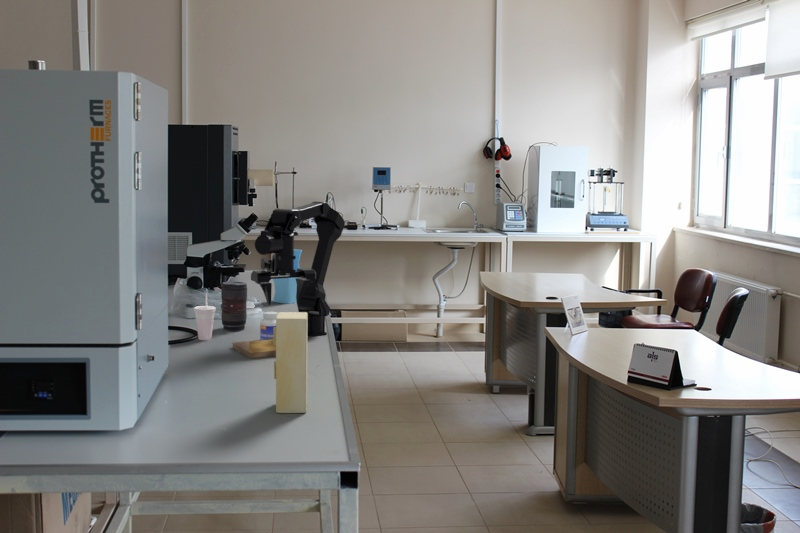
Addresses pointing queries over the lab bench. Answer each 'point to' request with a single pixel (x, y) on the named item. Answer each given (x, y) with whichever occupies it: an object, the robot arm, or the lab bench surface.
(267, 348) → the shelf board
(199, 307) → the smoothie
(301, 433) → the lab bench surface
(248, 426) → the lab bench surface
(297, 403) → the toy refrigerator
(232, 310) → the camera lens
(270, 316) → the pill bottle
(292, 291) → the vase
